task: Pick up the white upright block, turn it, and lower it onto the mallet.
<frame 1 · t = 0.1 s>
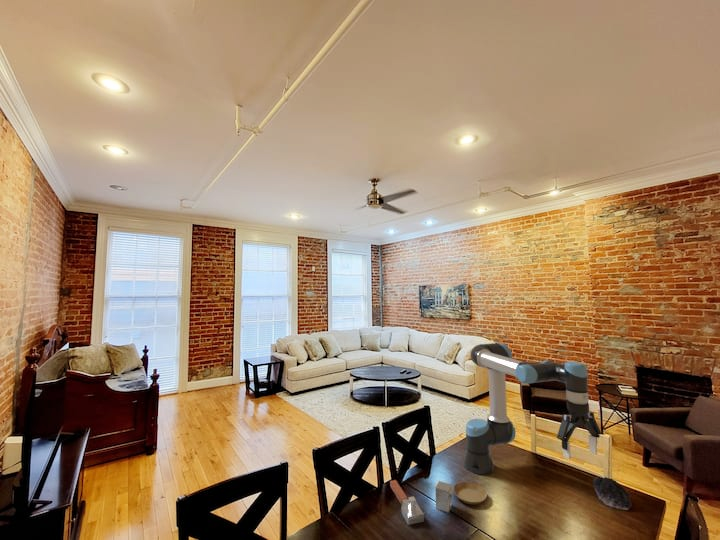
hand: (580, 455, 128), 28 cm above the table, fingers open, 13 cm apart
white upright block: (444, 506, 138), on the table
mallet: (412, 517, 132), on the table
plant saucer: (469, 497, 145), on the table
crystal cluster: (612, 501, 142), on the table
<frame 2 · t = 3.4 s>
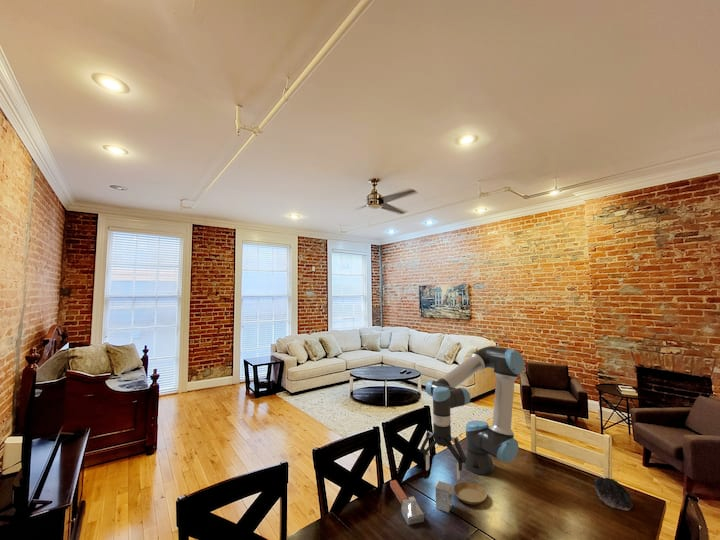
hand: (442, 473, 139), 14 cm above the table, fingers open, 13 cm apart
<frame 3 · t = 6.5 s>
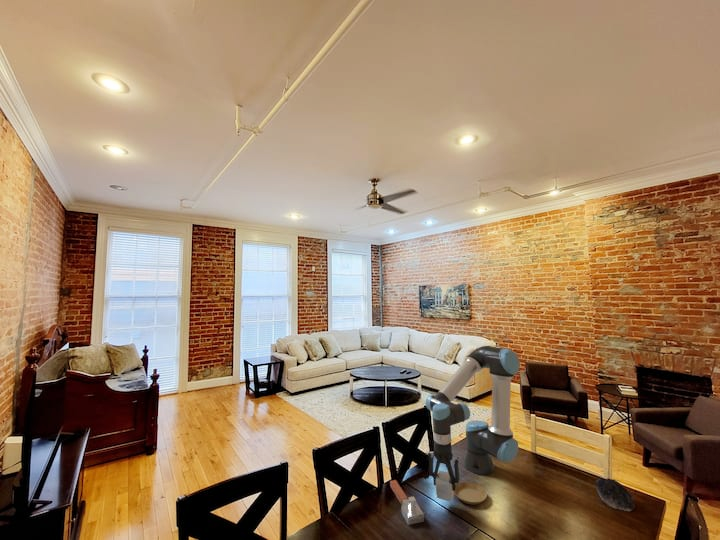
hand: (444, 494, 139), 5 cm above the table, fingers closed on white upright block, 6 cm apart
white upright block: (444, 495, 139), point 4 cm above the table, touching gripper
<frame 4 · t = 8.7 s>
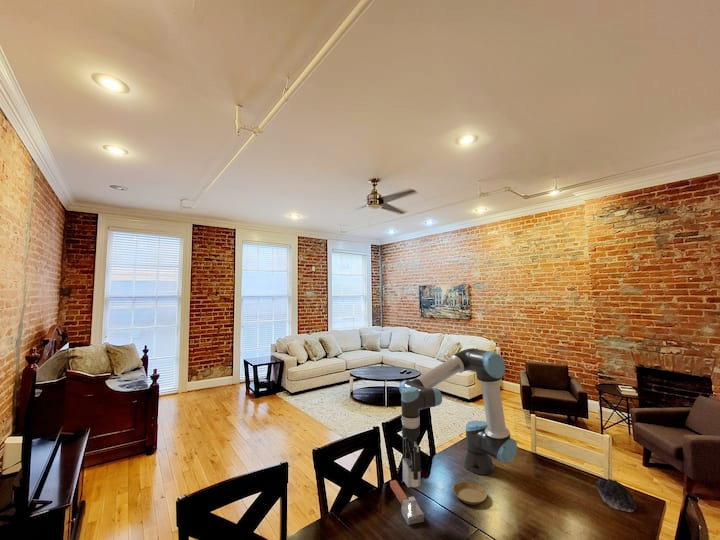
hand: (411, 481, 133), 14 cm above the table, fingers closed on white upright block, 6 cm apart
white upright block: (411, 482, 133), point 14 cm above the table, touching gripper
when the fingers open (4 cm above the table, at t = 10.8 s): white upright block stays where it is, resting on mallet.
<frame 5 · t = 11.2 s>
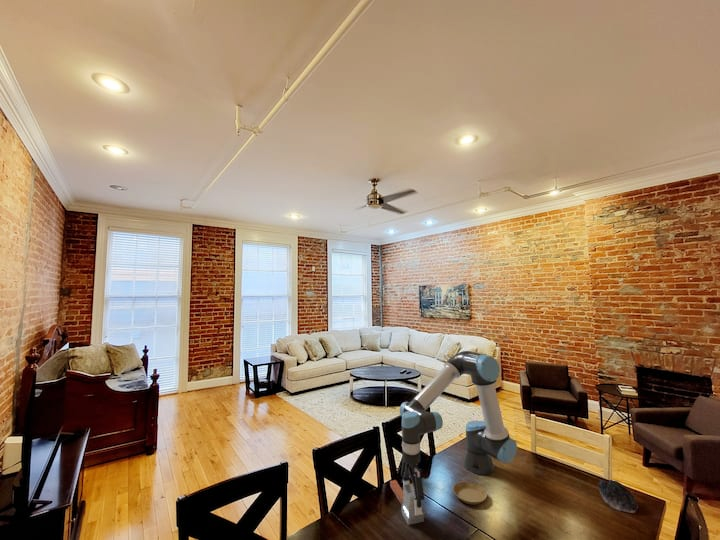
hand: (412, 504, 133), 5 cm above the table, fingers open, 11 cm apart
white upright block: (412, 509, 133), point 3 cm above the table, touching mallet
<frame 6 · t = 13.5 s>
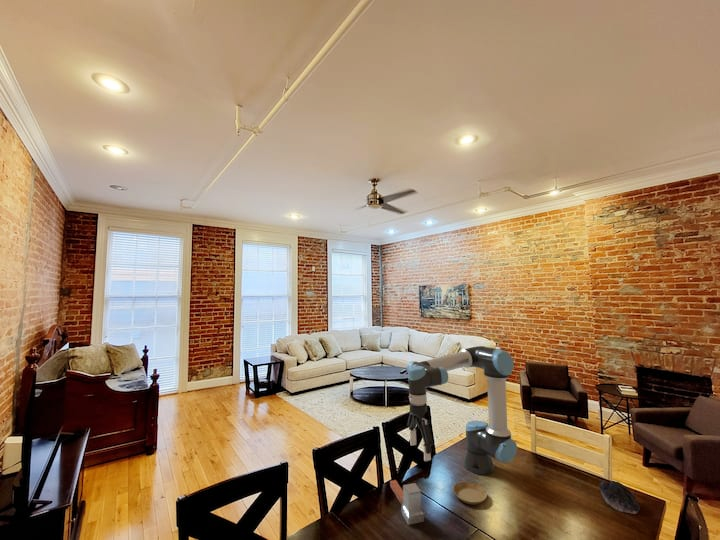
hand: (420, 452, 138), 24 cm above the table, fingers open, 13 cm apart
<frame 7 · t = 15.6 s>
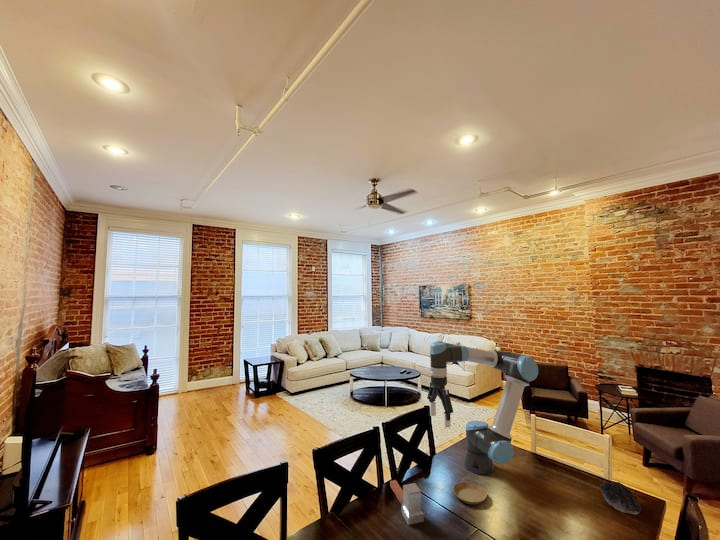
hand: (439, 421, 150), 33 cm above the table, fingers open, 13 cm apart
at the end: white upright block 0.1 cm off-centre on the mallet, point 3.0 cm above the mallet's base; white upright block tilted 0°; the gripper is holding nothing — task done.
